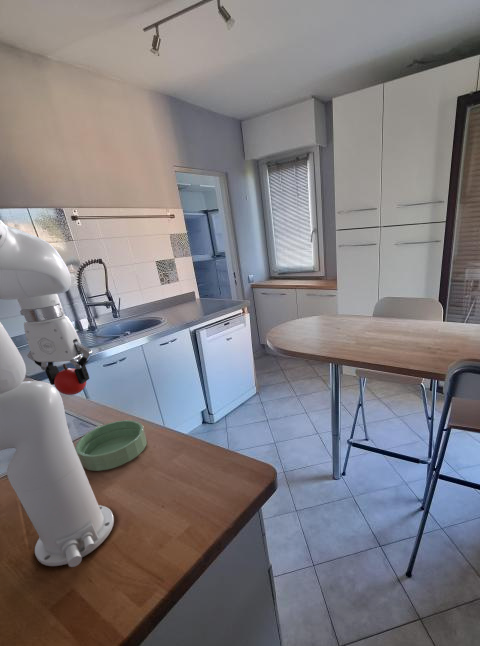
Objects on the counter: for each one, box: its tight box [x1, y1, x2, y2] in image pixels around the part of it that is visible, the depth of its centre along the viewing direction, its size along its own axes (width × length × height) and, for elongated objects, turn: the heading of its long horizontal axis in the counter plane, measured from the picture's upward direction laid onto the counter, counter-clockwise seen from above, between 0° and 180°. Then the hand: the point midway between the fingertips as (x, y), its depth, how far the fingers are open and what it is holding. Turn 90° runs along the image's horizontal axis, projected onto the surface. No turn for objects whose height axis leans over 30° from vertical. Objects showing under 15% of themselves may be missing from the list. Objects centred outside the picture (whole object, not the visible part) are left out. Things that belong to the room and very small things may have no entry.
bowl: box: [75, 419, 148, 472], centre depth 85 cm, size 15×15×5 cm
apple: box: [53, 363, 87, 396], centre depth 85 cm, size 7×7×8 cm
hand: (70, 381), depth 85 cm, fingers closed on apple, 6 cm apart
